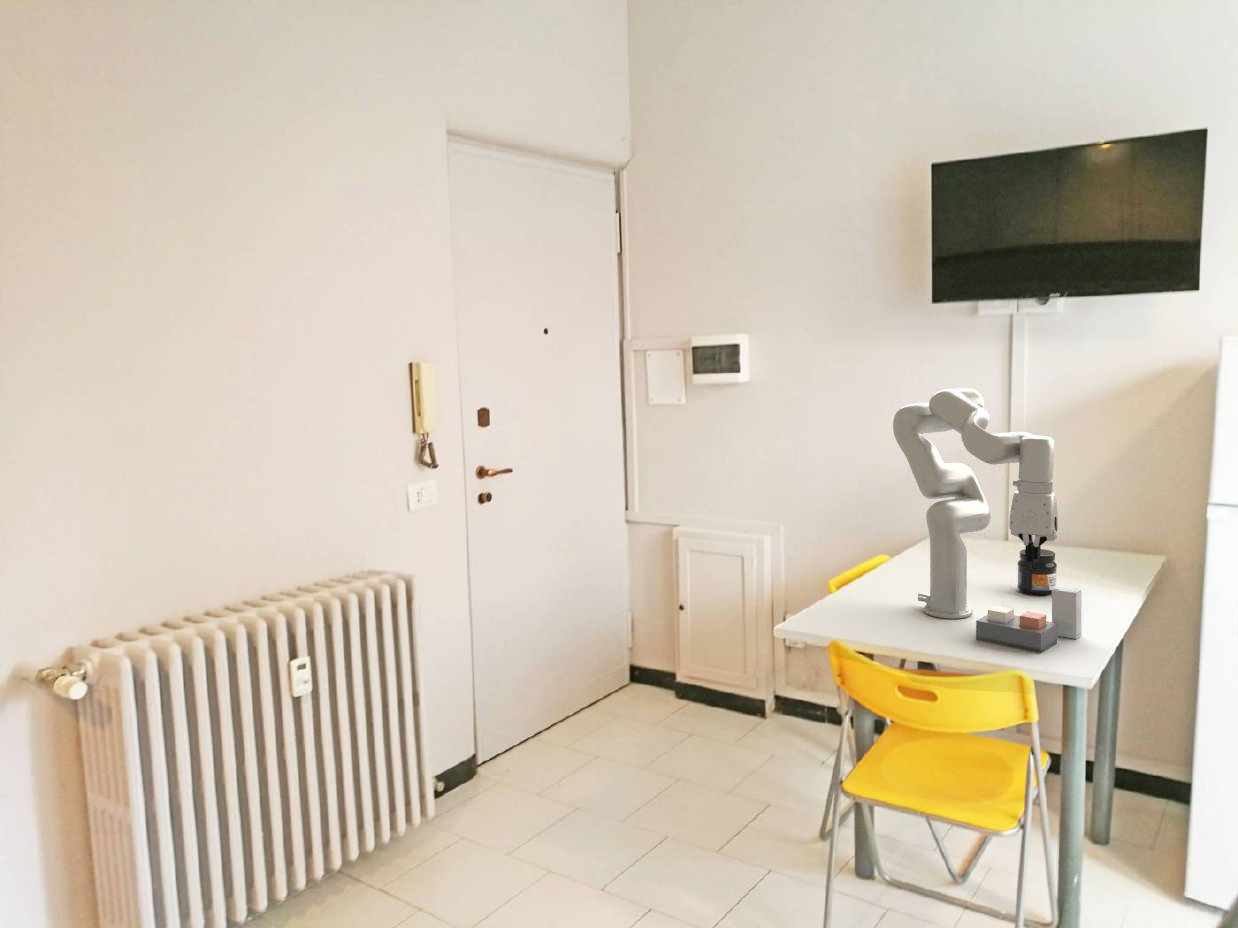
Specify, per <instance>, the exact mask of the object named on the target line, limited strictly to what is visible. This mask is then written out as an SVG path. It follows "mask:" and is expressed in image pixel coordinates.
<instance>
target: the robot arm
mask: <svg viewBox="0 0 1238 928" xmlns="http://www.w3.org/2000/svg"><path fill="white" fill-rule="evenodd" d="M984 407H985V402H984V398H983V396H982V394H981V393H980V392H978V391H977V390H975V389H973V388H969V387H966V388H964V387H963V388H962V387H961V388H949V389H942V390H940V391H937V392H935V393H934V394H933V395H932V396H931V398H930V399H929V402H922V403H913V404H908V405H904V406H902V407H901V408H899V409H898V410H897V411H896V412H895V414H894V416H893V422H892V428H893V435H894V437H895V440H896V442H897V444H898V446H899V448H900V449H901V451H902V452H903V454H904V456H905V458H906V460H907V462H908V465H909V467H910V470H911V472H912V475H913V477H914V479H915V482H916V485H917V487H918V489H919V491H920V493H921V495H922V496H923V497H924V498H926V499H929V500H938V499H939V500H940V499H944V500H940V501H936V502H934V503H932V504H931V505H930V506H929V508H927V512H926V515H925V517H926V518H925V519H926V525H927V529H928V534H929V560H930V561H929V565H930V566H929V591H930V592H929V593H925V592H919V593H918V594H917V601H918V602H925V604H926V605H924V607H923V611H924V613H925V614H927V615H928V614H929V616H931V617H935V618H941V619H951V620H953V619H954V620H955V619H957V620H958V619H965V618H968V617H970V616H972V615H973V608H971V606H968V605H967V597H968V596H967V592H968V591H967V583H968V582H967V581H968V578H967V576H968V566H967V565H968V564H967V563H968V558H967V557H968V553H967V552H968V550H967V547H966V544H965V542H964V540H963V539H962V536H961V534H962V535H963V534H966V533H973V532H979V531H982V530H984V529H986V528H987V527H988V526H989V524H990V522H991V511H990V506H989V504H988V502H987V500H986V497H985V495H984V492H983V491H982V488H981V486H980V484H979V482H978V479H977V476H976V475H975V473H974V472H973V470H972V468H970V467H969V466H968V465H966V464H964V463H961V462H952V463H945V462H944V461H943V460H942V458H941V456H940V453H939V451H938V449H937V448H936V447H937V446H935V445H934V444H933V443H932V442H931V441H930V440H929V439H928V438H926V436H924V434H929V433H930V434H931V433H941V432H947V431H951V430H954V431H956V432H957V433H959V434H960V435H961V441H962V443H963V446H964V448H965V450H966V451H967V452H968V453H969V454H971V455H972V456H974V457H975V458H976V459H978V460H980V461H981V462H983V463H985V464H989V465H995V466H996V465H1003V464H1014V463H1018V479H1016V480H1013V481H1012V487H1013V486H1014V487H1016V488H1017V489H1016V490H1015V491H1014V493H1013V496H1012V500H1011V501H1012V502H1011V506H1010V513H1009V523H1008V524H1009V525H1008V527H1009V530H1010V534H1011V535H1012V536H1015V537H1017V538H1019V539H1020V540H1021V542H1022V543H1023V545H1024V546H1025V557H1027V562H1032V563H1034V562H1036V561H1038V559H1040V550H1041V549H1042V548H1041V547H1042V545H1044V543H1046V542H1053V541H1056V540H1058V535H1057V532H1058V527H1059V525H1058V524H1059V518H1058V517H1059V516H1058V506H1057V499H1056V494H1055V493H1053V483H1054V482H1053V481H1054V480H1053V479H1054V458H1055V456H1054V454H1055V442H1054V439H1053V438H1052V437H1049V436H1045V435H1034V434H1032V433H1029V432H1025V431H1015V432H1000V433H990V432H988V431H986V429H987V427H988V424H989V421H990V420H989V419H990V416H989V413H988V411H987V410H986V409H984ZM948 498H949V499H948ZM950 498H951V499H950ZM952 498H953V499H952ZM1033 536H1034V537H1033ZM1033 538H1034V539H1033Z"/></svg>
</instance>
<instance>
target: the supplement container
mask: <svg viewBox="0 0 1238 928" xmlns="http://www.w3.org/2000/svg"><path fill="white" fill-rule="evenodd" d="M1019 558H1020V559H1019V560H1018V561H1017V584H1016V585H1017V590H1018V591H1019V592H1020V593H1022V594H1026V595H1029V596H1038V597H1039V596H1043V597H1044V596H1045V597H1046V596H1050V595H1051V596H1052V590H1053V589H1054V588H1055V587H1057V567H1058V564H1057V562H1056V561H1055V560H1056V553H1055V552H1054V551H1053V550H1050V549H1049V550H1048V549H1045V548H1043V549H1042V548H1041V550H1040V559H1038V561H1036V562H1034V563H1032V562H1027V557H1025V549H1021V550H1020V551H1019Z"/></svg>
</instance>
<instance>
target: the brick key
mask: <svg viewBox="0 0 1238 928" xmlns="http://www.w3.org/2000/svg"><path fill="white" fill-rule="evenodd" d="M1019 616H1020V625H1019V626H1022V627H1027V628H1033V629H1038V630H1040V629H1041V628H1043V627H1045V626H1046V621H1047V614H1044V613H1040V612H1034V611H1026V612H1023V613H1022V614H1020V615H1019Z"/></svg>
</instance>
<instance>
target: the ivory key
mask: <svg viewBox="0 0 1238 928" xmlns="http://www.w3.org/2000/svg"><path fill="white" fill-rule="evenodd" d="M1014 613H1015V609H1014V608H1012V607H1007V606H1006V607H1005V606H1000V605H995V606H992V607H991V608H988V609H987V615H988V620H991V621H996V622H1002V623H1008V622H1010V621H1012V620H1014Z"/></svg>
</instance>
